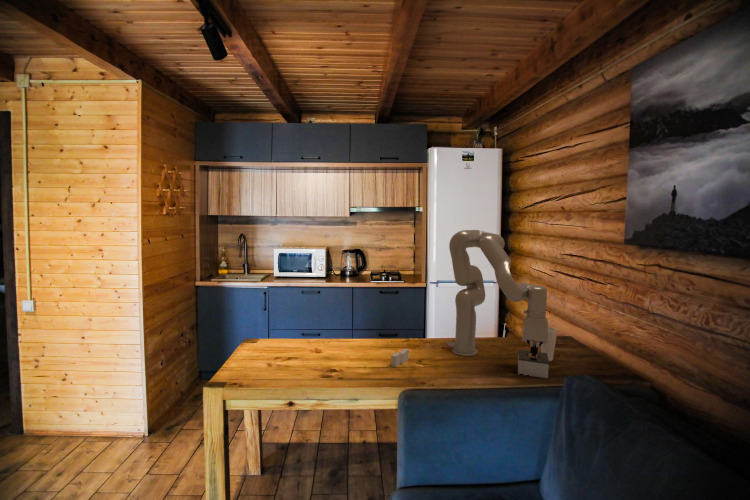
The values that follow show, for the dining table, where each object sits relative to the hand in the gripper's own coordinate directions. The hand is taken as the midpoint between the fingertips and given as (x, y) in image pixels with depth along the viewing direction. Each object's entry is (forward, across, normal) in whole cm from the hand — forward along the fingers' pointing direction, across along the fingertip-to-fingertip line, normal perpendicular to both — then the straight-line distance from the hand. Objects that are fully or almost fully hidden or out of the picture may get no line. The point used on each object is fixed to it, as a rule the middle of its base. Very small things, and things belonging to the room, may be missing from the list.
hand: (533, 355), depth 184 cm
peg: (+6, 0, 0) cm, 6 cm away
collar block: (+7, 0, 0) cm, 7 cm away
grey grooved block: (+8, -58, -13) cm, 60 cm away
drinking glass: (+8, +7, +18) cm, 21 cm away
